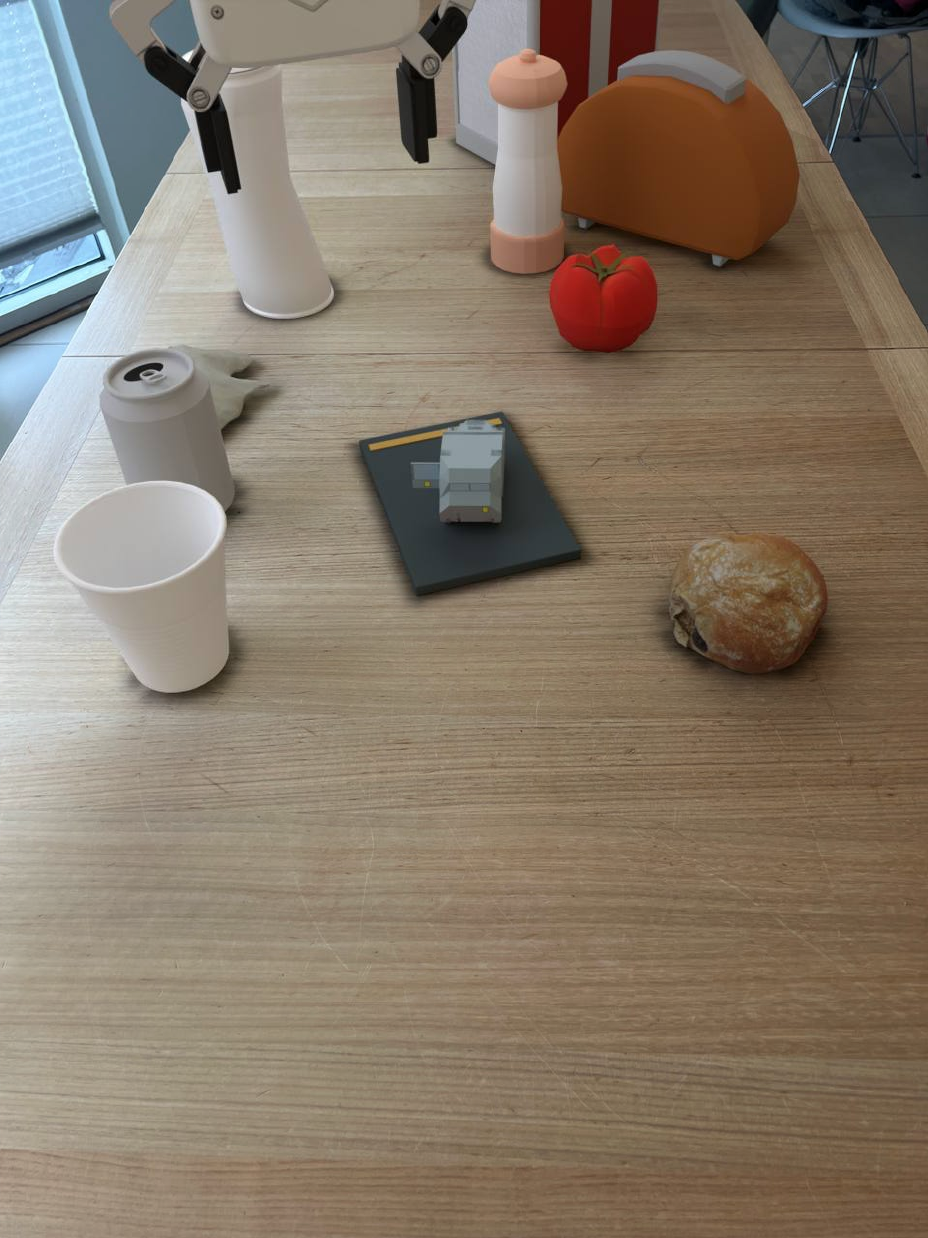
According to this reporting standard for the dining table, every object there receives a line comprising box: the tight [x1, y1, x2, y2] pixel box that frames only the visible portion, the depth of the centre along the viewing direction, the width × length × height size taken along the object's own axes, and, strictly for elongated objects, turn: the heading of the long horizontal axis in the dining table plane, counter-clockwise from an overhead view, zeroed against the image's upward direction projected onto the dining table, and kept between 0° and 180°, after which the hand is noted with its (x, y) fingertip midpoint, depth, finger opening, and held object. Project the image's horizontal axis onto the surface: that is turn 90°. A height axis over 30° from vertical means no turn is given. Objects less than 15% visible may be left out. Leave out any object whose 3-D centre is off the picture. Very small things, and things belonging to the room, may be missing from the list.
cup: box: [52, 481, 230, 694], centre depth 66 cm, size 10×10×11 cm
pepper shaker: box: [488, 49, 567, 275], centre depth 100 cm, size 7×7×19 cm
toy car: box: [411, 420, 505, 523], centre depth 78 cm, size 6×10×5 cm, turn 177°
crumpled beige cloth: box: [167, 344, 271, 431], centre depth 89 cm, size 12×3×15 cm
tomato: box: [548, 244, 659, 354], centre depth 93 cm, size 9×9×8 cm
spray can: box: [180, 49, 335, 320], centre depth 95 cm, size 12×11×25 cm
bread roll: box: [668, 532, 829, 675], centre depth 68 cm, size 10×10×8 cm
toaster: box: [557, 49, 801, 267], centre depth 104 cm, size 23×9×17 cm, turn 53°
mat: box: [358, 411, 582, 596], centre depth 80 cm, size 12×18×1 cm, turn 16°
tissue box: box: [451, 0, 663, 166], centre depth 117 cm, size 16×18×27 cm
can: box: [99, 347, 236, 513], centre depth 77 cm, size 8×8×12 cm
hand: (324, 168), depth 55 cm, fingers open, 9 cm apart
